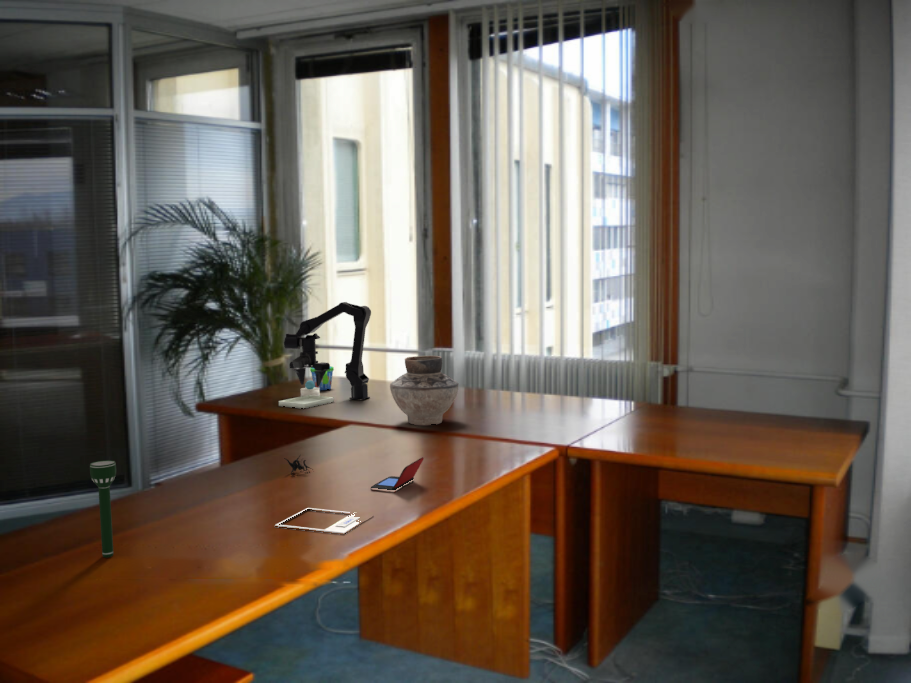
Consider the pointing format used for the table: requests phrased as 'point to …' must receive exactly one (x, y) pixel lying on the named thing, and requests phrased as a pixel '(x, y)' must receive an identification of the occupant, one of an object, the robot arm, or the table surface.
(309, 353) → the robot arm
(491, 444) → the table surface
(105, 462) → the flashlight
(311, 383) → the ball
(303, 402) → the tray
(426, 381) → the ceramic pot
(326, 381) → the snack cup
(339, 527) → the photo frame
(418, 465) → the handheld game console
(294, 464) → the creature
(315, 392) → the cup
